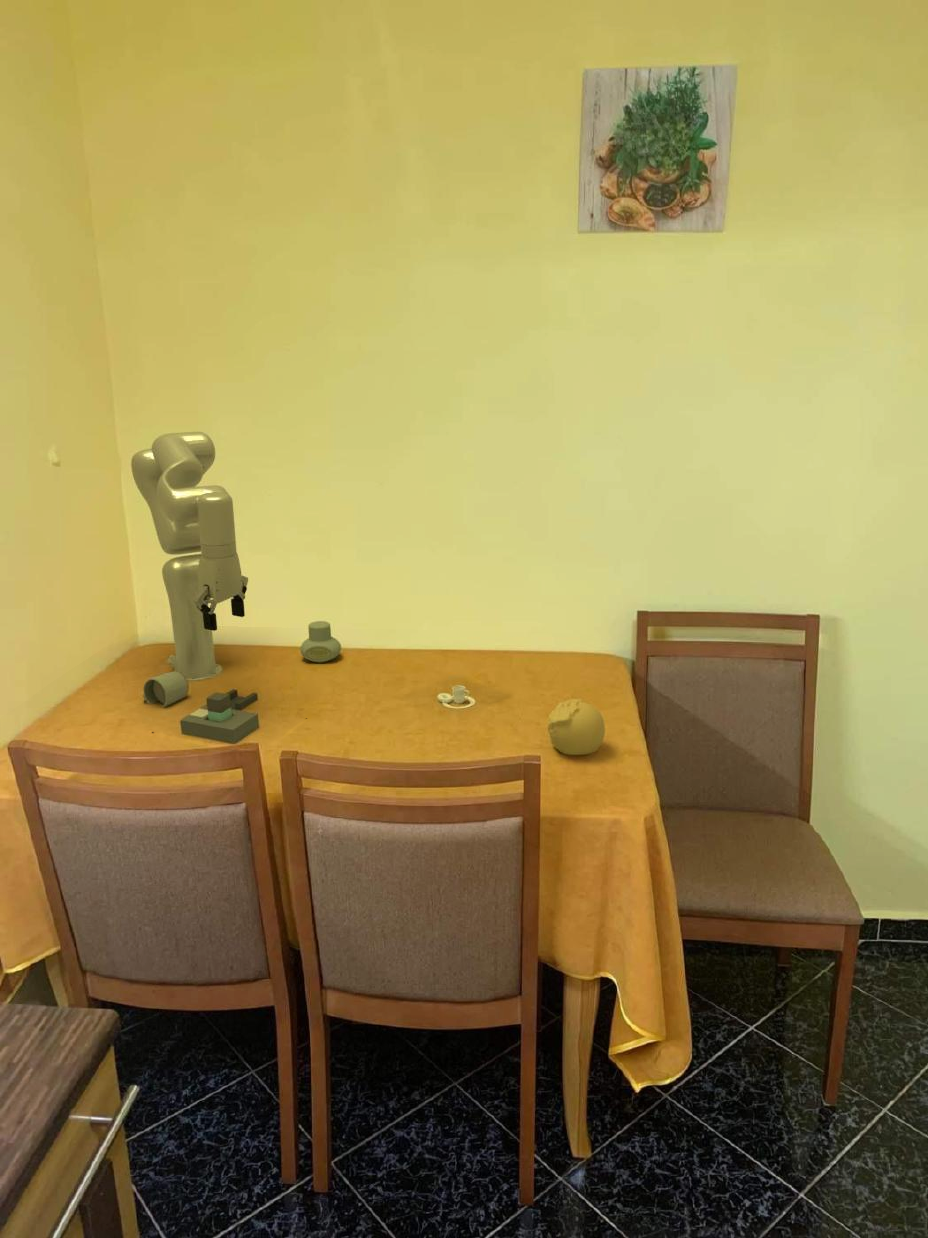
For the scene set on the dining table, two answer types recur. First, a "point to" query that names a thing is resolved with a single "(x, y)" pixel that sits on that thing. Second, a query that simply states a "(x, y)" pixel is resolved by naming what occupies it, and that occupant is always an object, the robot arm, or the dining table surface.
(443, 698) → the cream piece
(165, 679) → the ceramic mug
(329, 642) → the air freshener
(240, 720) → the port panel
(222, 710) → the plug
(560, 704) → the sculpture
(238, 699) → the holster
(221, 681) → the dining table surface
